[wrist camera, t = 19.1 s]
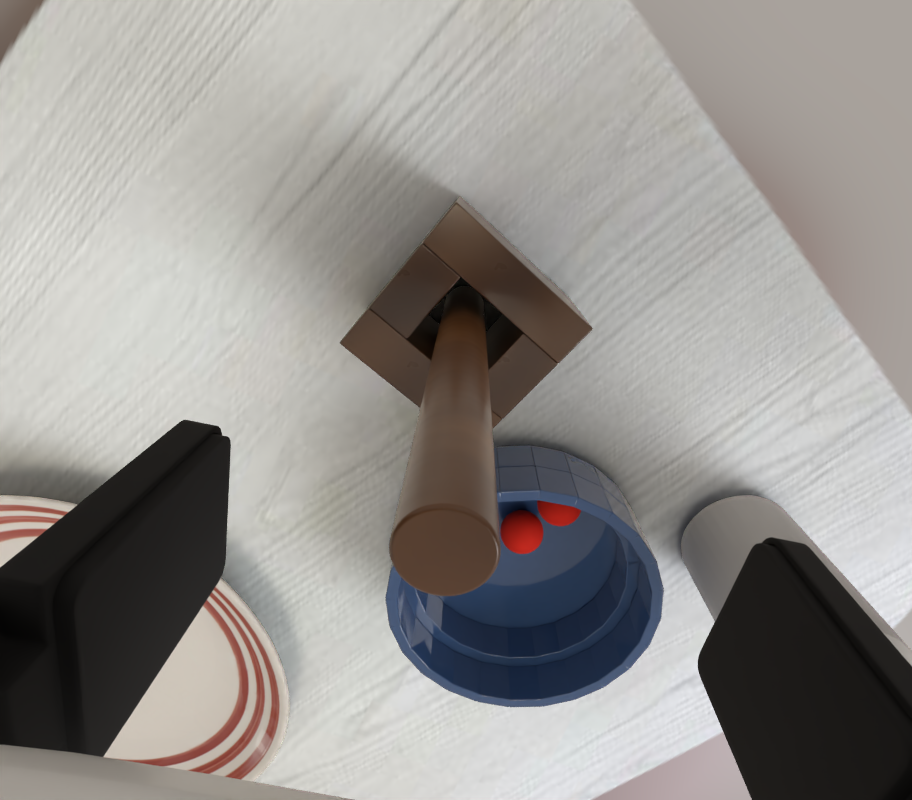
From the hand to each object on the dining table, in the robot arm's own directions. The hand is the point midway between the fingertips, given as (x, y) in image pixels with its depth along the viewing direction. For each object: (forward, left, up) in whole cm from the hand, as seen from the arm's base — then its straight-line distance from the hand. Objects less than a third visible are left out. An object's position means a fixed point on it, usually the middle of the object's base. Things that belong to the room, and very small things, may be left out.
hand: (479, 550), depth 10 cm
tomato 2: (-11, +6, -18) cm, 22 cm away
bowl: (-12, +9, -20) cm, 25 cm away
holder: (0, 0, -20) cm, 20 cm away
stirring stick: (0, 0, -20) cm, 20 cm away
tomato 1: (-9, +7, -18) cm, 21 cm away
